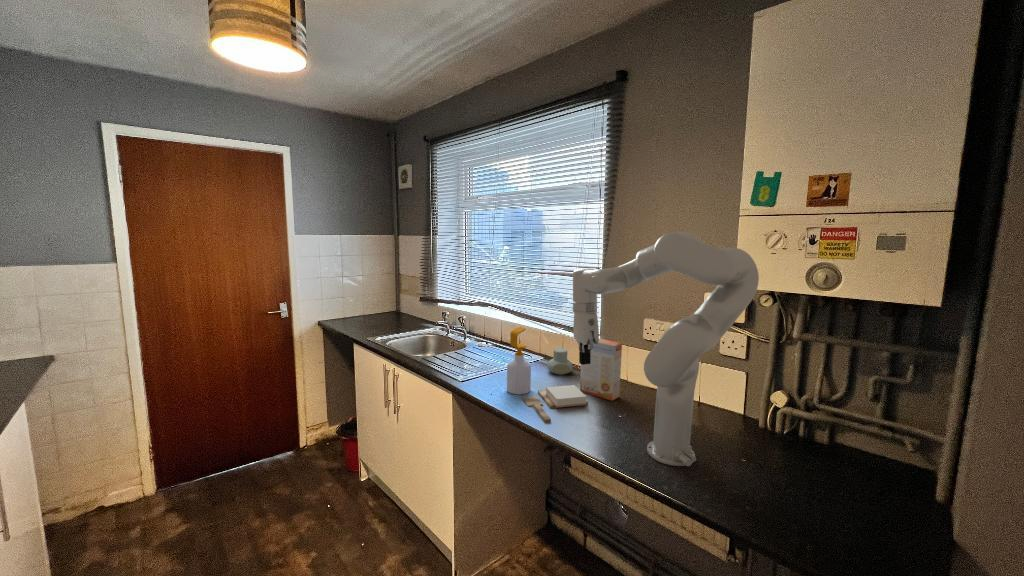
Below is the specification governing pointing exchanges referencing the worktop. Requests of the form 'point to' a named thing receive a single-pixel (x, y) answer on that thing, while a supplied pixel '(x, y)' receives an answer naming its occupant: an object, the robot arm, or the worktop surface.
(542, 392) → the cork board
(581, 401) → the ceramic tile
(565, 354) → the air freshener
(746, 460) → the worktop surface
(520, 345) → the soap bottle
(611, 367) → the cracker box
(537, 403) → the wooden turner
